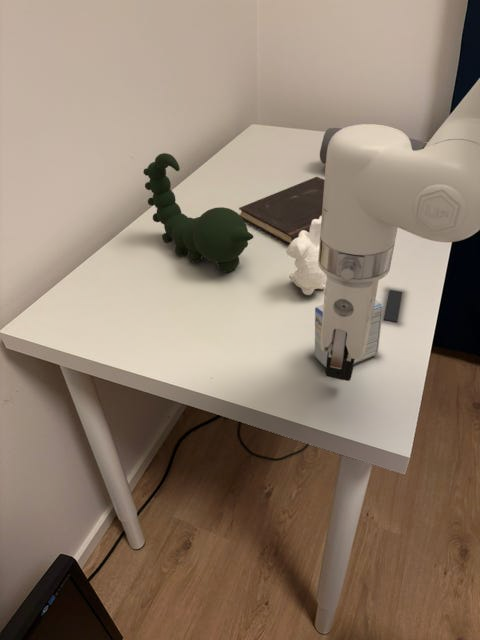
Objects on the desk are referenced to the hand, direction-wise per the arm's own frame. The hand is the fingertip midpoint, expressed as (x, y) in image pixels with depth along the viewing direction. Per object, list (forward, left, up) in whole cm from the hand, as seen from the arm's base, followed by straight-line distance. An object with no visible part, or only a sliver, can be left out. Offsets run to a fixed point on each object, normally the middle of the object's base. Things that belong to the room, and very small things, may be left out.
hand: (338, 374), depth 62 cm
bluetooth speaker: (+6, -70, -3) cm, 70 cm away
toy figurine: (+30, -25, -3) cm, 39 cm away
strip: (-5, -20, -3) cm, 21 cm away
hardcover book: (+16, -47, -3) cm, 50 cm away
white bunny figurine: (+9, -21, -3) cm, 23 cm away
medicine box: (0, -6, -3) cm, 7 cm away
